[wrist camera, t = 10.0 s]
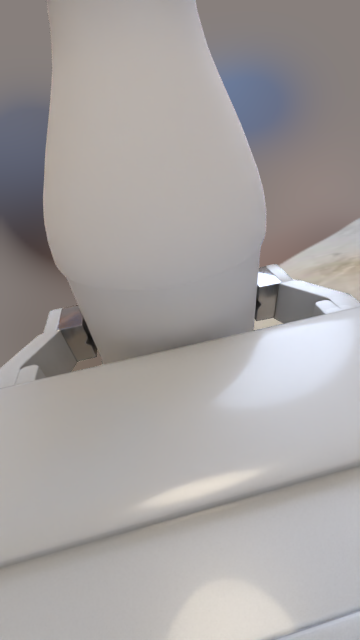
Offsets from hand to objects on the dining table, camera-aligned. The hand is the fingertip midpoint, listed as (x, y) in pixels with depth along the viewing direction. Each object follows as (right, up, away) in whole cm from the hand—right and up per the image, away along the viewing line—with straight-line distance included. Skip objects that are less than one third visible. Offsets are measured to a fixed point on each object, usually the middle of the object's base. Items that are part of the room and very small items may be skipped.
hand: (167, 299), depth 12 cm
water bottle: (+2, -11, +8) cm, 13 cm away
